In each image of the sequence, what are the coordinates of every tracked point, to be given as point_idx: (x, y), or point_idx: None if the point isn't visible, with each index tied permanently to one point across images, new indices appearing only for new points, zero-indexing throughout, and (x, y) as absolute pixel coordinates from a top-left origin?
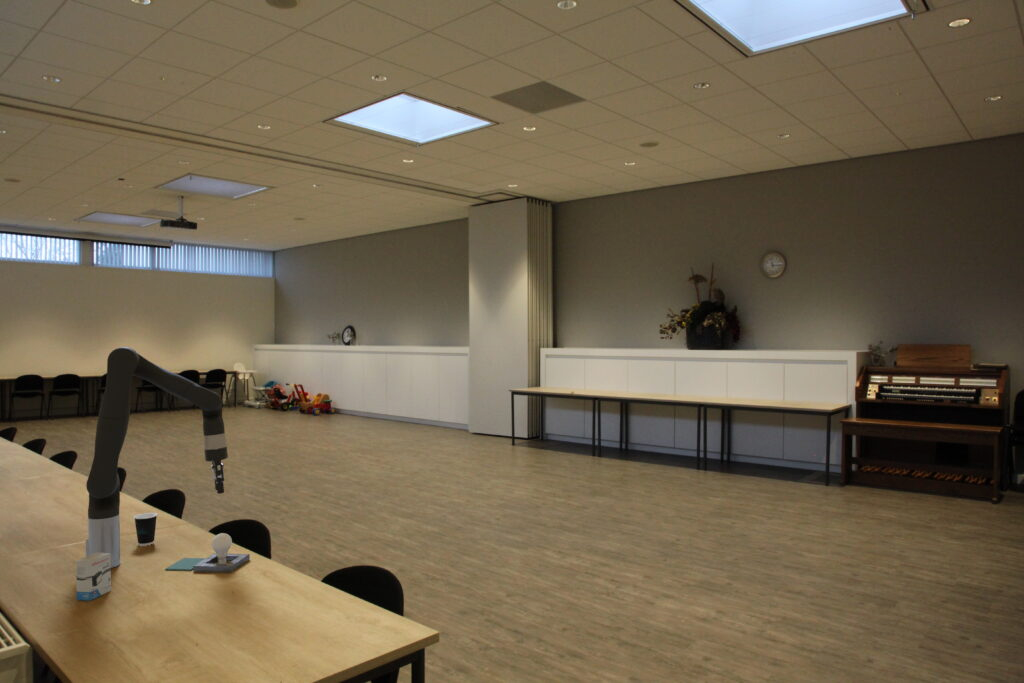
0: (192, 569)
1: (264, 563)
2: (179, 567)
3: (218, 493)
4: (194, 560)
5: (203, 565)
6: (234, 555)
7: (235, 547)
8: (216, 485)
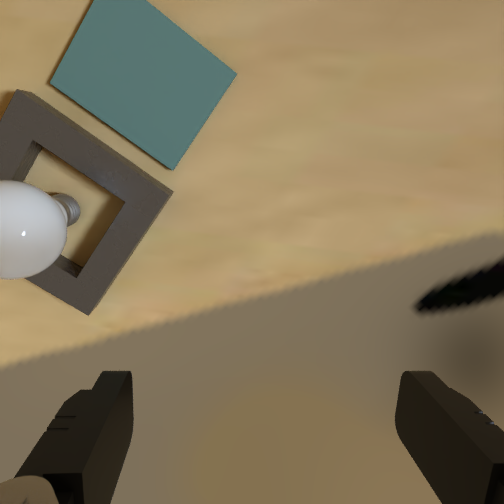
0: (63, 91)
1: (30, 341)
2: (97, 37)
3: (105, 376)
4: (171, 112)
5: (5, 131)
6: (95, 264)
7: (287, 284)
8: (432, 415)
